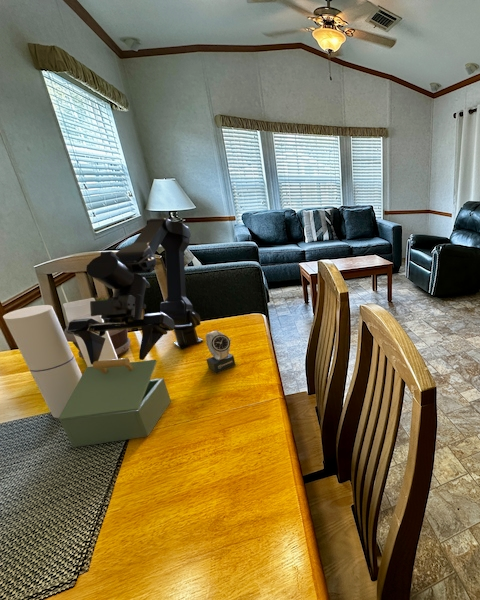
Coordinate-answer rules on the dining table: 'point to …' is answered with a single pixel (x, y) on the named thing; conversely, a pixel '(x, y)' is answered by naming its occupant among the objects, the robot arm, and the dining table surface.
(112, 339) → the flowerpot
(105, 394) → the lid
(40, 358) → the cylindrical container
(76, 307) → the milk
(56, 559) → the dining table surface
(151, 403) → the green hinged box
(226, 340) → the watch
